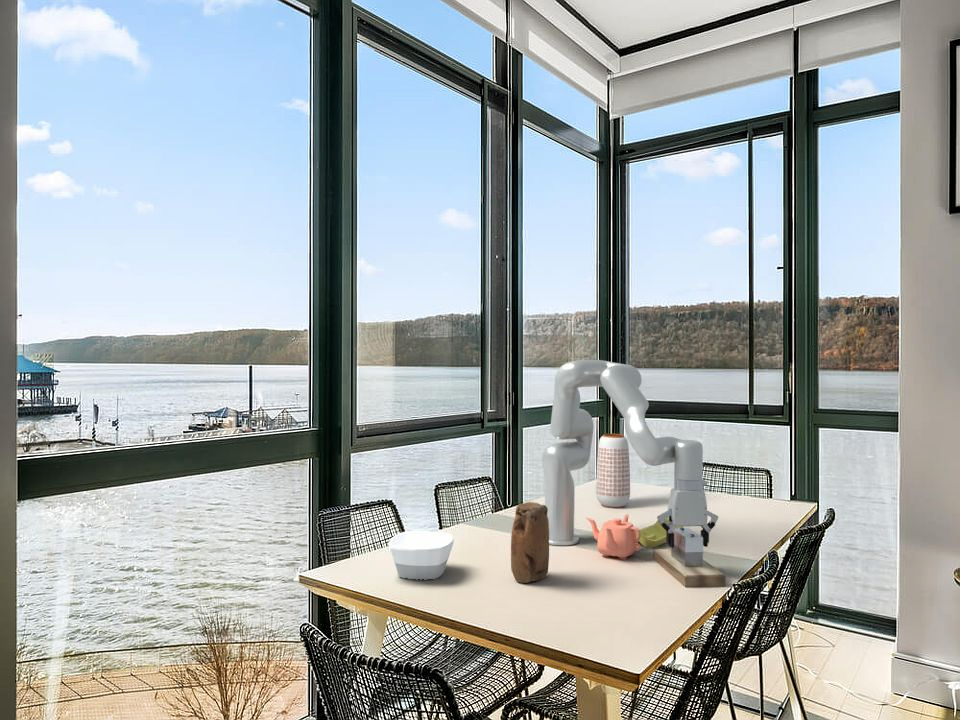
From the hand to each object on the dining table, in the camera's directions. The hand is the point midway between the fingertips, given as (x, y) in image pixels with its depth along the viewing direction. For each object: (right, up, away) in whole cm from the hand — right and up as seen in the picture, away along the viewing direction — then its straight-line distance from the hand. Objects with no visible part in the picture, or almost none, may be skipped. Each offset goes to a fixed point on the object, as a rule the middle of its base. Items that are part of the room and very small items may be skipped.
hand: (687, 545), depth 195 cm
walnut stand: (0, -7, 0) cm, 7 cm away
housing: (0, -4, 0) cm, 4 cm away
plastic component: (-1, -7, +32) cm, 33 cm away
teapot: (-18, -7, +16) cm, 25 cm away
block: (-45, -7, -6) cm, 46 cm away
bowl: (-74, -7, -2) cm, 75 cm away
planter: (-5, -6, +82) cm, 82 cm away
